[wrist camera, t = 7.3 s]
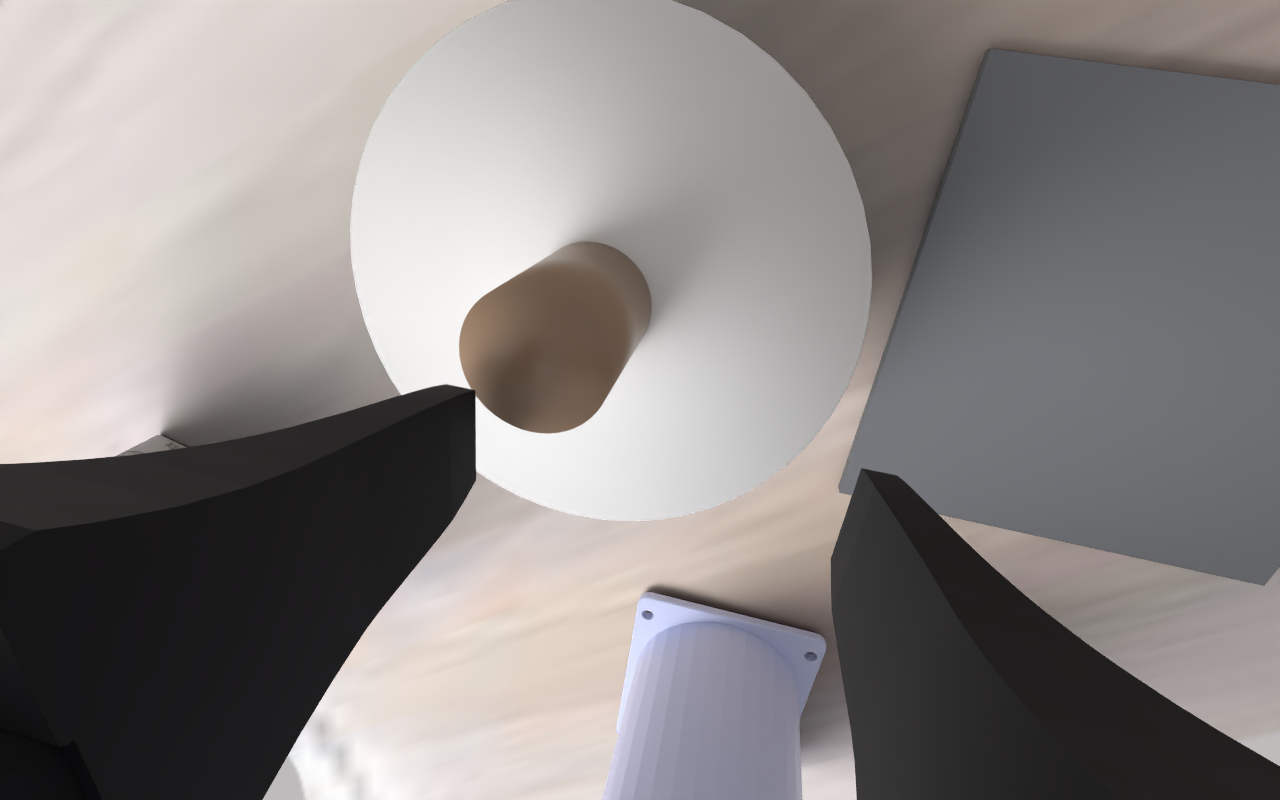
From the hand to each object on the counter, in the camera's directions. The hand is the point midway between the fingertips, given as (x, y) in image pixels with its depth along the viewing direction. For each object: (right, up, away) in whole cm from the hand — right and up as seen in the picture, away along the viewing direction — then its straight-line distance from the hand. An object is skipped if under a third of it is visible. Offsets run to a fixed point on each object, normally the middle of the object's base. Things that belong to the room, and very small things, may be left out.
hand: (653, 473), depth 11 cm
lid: (-1, +4, +4) cm, 6 cm away
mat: (+15, +3, +7) cm, 17 cm away
